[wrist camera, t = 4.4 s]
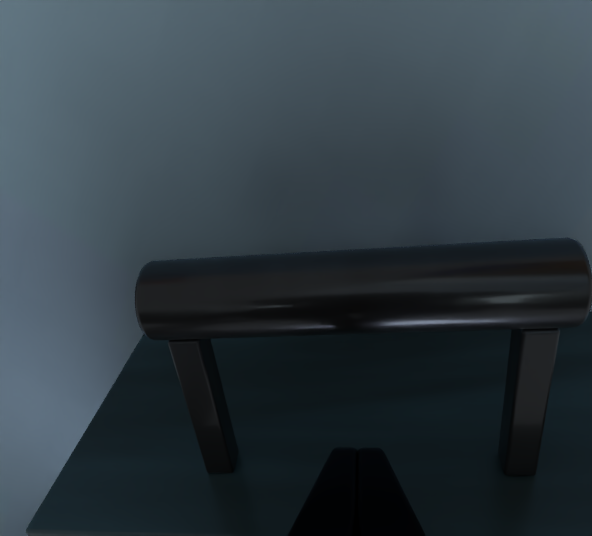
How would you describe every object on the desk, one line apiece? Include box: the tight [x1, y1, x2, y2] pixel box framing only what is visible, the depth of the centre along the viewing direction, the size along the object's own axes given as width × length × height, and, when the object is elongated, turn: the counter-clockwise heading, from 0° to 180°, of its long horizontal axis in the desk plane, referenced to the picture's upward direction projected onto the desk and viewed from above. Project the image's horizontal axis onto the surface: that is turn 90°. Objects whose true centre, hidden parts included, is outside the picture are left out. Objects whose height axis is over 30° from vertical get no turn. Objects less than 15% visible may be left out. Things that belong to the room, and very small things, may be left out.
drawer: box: [26, 238, 592, 536], centre depth 14 cm, size 19×13×7 cm
